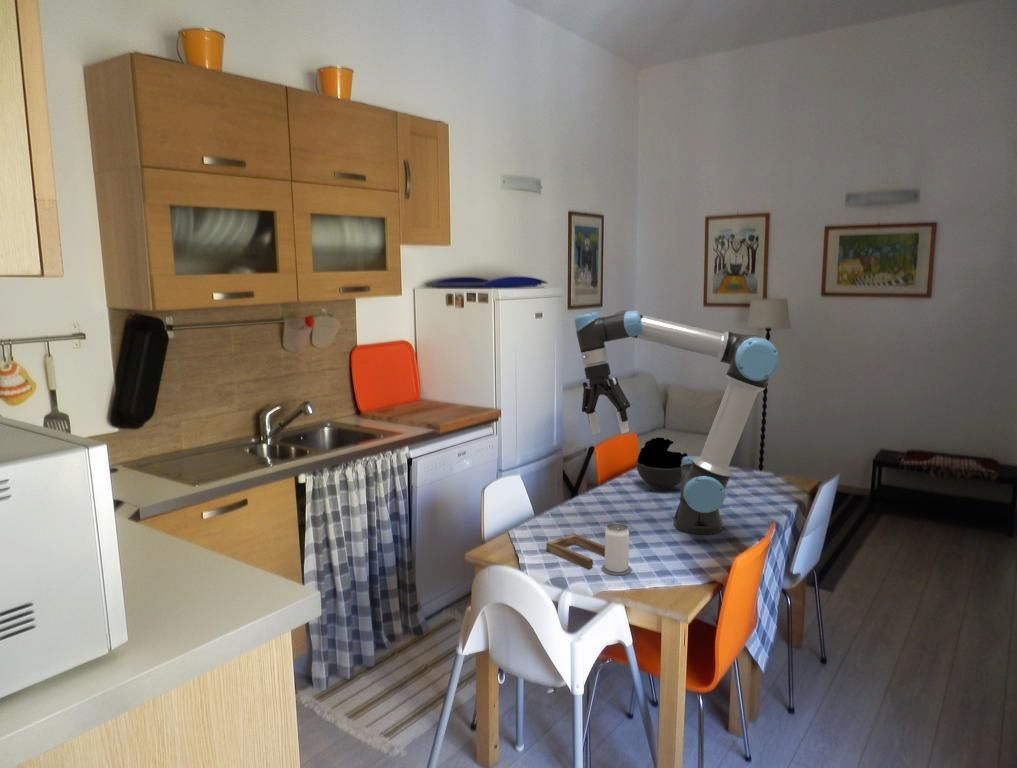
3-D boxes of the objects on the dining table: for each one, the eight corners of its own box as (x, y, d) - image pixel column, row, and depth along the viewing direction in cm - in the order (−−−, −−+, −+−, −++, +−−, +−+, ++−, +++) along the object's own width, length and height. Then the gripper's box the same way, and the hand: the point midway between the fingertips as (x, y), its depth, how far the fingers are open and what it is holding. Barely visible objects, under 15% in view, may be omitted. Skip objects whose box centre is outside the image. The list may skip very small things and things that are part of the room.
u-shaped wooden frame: (574, 541, 222) (574, 533, 221) (617, 559, 208) (617, 550, 208) (546, 550, 215) (546, 542, 214) (588, 569, 201) (588, 560, 201)
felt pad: (615, 561, 206) (615, 560, 206) (637, 570, 200) (637, 569, 200) (595, 568, 201) (595, 567, 201) (617, 578, 195) (617, 576, 195)
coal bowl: (669, 478, 290) (670, 432, 287) (699, 492, 272) (701, 443, 269) (625, 483, 283) (626, 436, 280) (653, 498, 264) (655, 447, 262)
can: (625, 563, 204) (626, 522, 202) (630, 572, 198) (631, 530, 196) (602, 563, 204) (603, 522, 202) (606, 573, 198) (607, 530, 196)
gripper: (562, 370, 227) (576, 436, 228) (613, 362, 206) (628, 435, 207) (580, 366, 231) (594, 431, 232) (632, 357, 210) (647, 429, 211)
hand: (610, 433), depth 219 cm, fingers open, 13 cm apart
